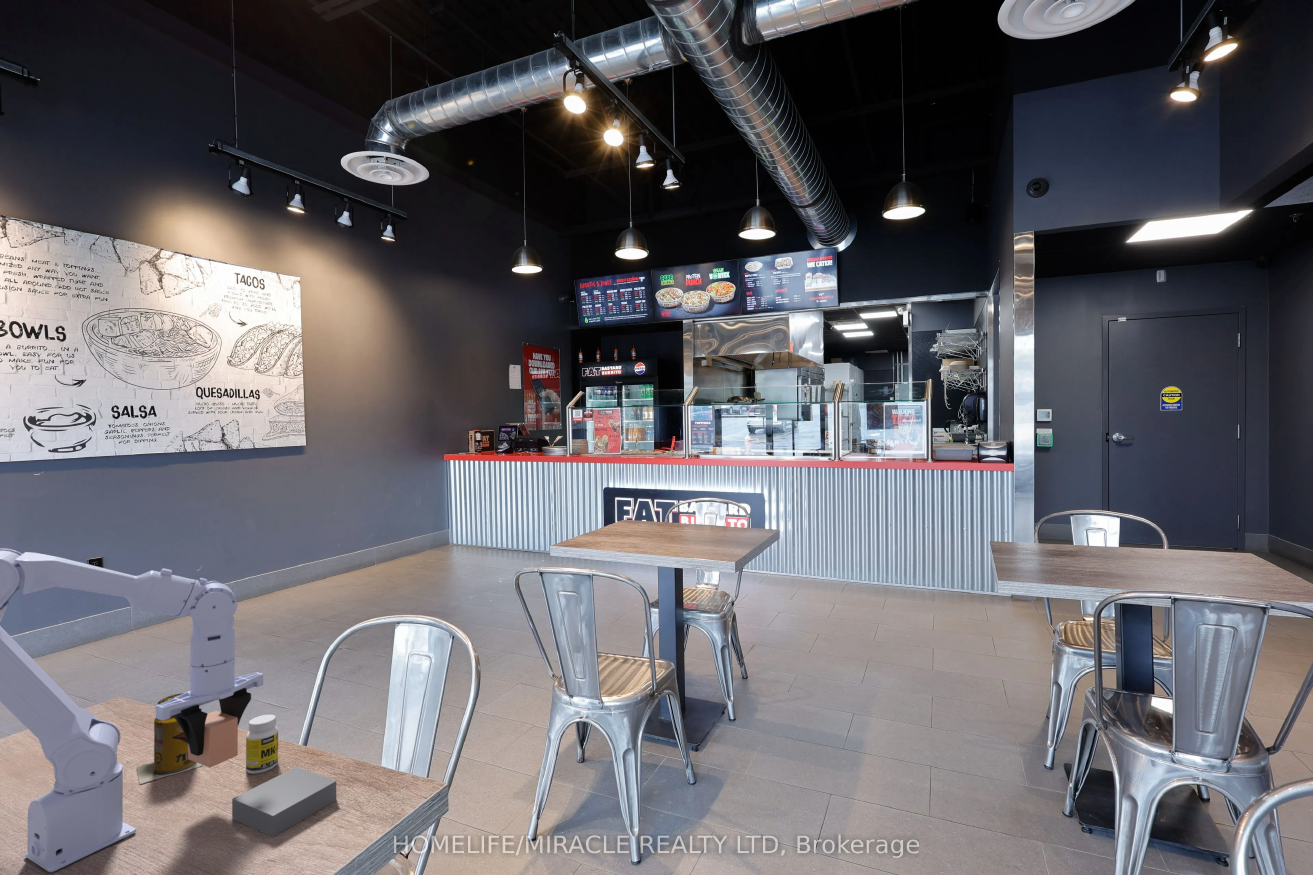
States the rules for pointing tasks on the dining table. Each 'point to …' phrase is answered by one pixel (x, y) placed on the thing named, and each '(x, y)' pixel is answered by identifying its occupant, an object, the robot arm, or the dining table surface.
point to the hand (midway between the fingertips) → (212, 746)
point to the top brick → (218, 739)
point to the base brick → (283, 801)
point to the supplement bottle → (262, 744)
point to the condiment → (167, 750)
